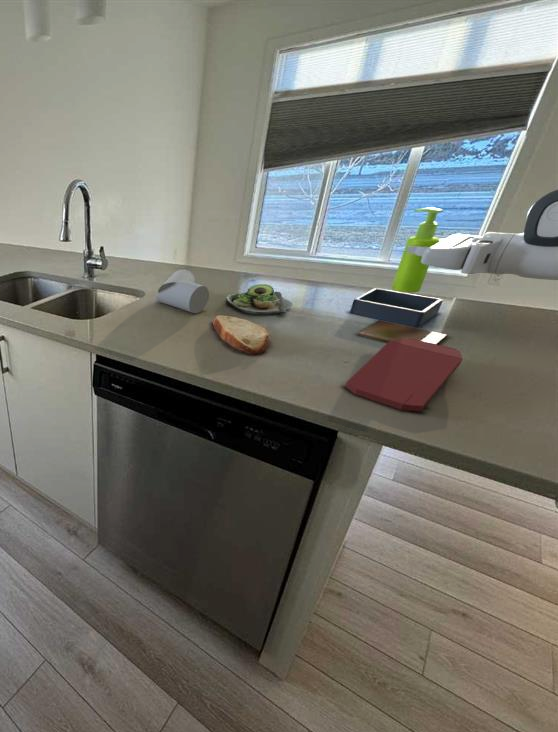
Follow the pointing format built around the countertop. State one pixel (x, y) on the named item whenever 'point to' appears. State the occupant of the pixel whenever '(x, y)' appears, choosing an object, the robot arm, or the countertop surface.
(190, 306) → the elbow connector
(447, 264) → the robot arm
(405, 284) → the soap dispenser
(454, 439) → the countertop surface
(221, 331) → the bread slice
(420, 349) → the maroon flat slab
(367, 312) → the dark blue tray
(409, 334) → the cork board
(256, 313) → the salad plate
